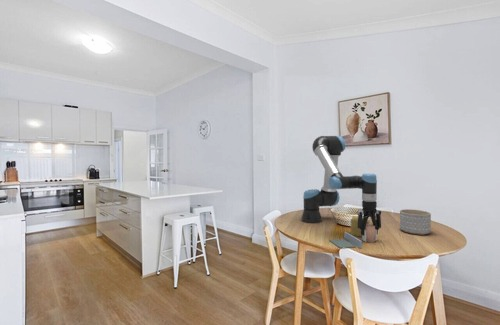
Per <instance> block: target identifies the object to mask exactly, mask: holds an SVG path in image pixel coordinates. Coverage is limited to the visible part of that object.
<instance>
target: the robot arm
mask: <svg viewBox="0 0 500 325" xmlns="http://www.w3.org/2000/svg"><path fill="white" fill-rule="evenodd" d="M311 147H312V153H314V156H317V158H318V159H319V161H320V163H321V165H322V167H323V168H324V176H323V186H321V187H320V189H317V188H316V189H315V188H314V189H313V188H312V189H307V190H305V191H304V192H303V211H302V214H301V217H300V218H301V221H302V222H305V223H308V224H309V223H310V224H318V223H322V220H323V217H322V215H321V212H320V207H332V206H333V207H334V206H337V205H338V203H339V202H340V197H341V196H340V192H339V191H338V190H345V189H350V190H351V189H360V190H361V200H362V202H361V206H362V209H361V210H360V211H359V210H358V211H357V215H358V228H359V229H361V235H362V236H361V241H362V242H366V230H365V227H366V223H367V220H368V219H369V218H370V219H371V222H372V223H371V224H372V225H375V242H376V241H378V240H377V238H378V234H379V230H380V229H382V219H381V218H382V216H381V215H382V210H377V206H378V205H377V204H378V203H377V199H378V198H377V197H378V196H377V193H378V192H377V190H378V189H377V186H378V183H377V182H378V181H377V180H378V179H377V174H375V173H362V176H361V175H352V176H350V175H349V176H345V175H343V174H342V172H341V171H340V168H339V166H338V164H339V163H338V162H339V157H340V156H341V155H342V153H343V152H344V151H345V150H346V142H345V139H344V138H343V136H340V135H320V136H318V137H316V138H315V139H314V141H313V142H312V146H311ZM362 219H363V220H362ZM366 243H367V242H366Z"/></svg>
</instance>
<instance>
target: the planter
mask: <svg viewBox="0 0 500 325" xmlns="http://www.w3.org/2000/svg"><path fill="white" fill-rule="evenodd" d="M431 218H432V214H431V213H430V212H428V211H425V210H420V209H405V208H404V209H401V210H399V229H400V230H401V231H403V232H404V233H407V234H411V235H415V234H416V236H424V235H425V234H426V235H428V234H430V233H431V227H432V219H431ZM426 235H425V236H426Z"/></svg>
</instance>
